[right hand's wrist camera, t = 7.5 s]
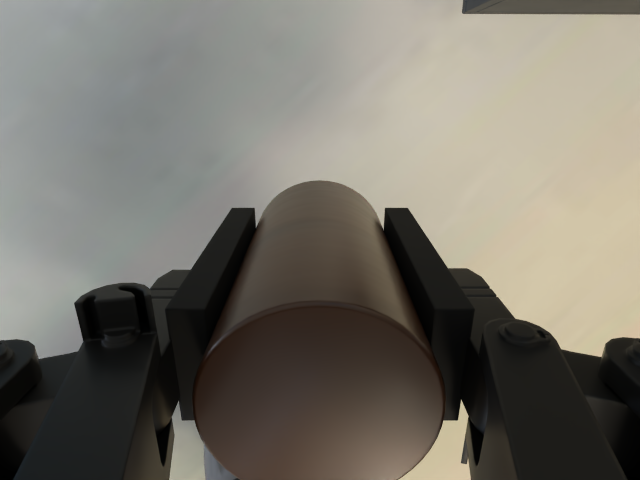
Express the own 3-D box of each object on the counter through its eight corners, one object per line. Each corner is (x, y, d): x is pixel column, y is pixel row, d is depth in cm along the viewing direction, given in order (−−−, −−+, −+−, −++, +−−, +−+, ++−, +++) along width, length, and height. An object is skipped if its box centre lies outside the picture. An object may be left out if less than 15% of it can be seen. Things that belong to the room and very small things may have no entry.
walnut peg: (379, 296, 15) (433, 503, 8) (260, 297, 15) (203, 503, 8) (385, 179, 14) (462, 302, 6) (252, 180, 14) (174, 302, 6)
